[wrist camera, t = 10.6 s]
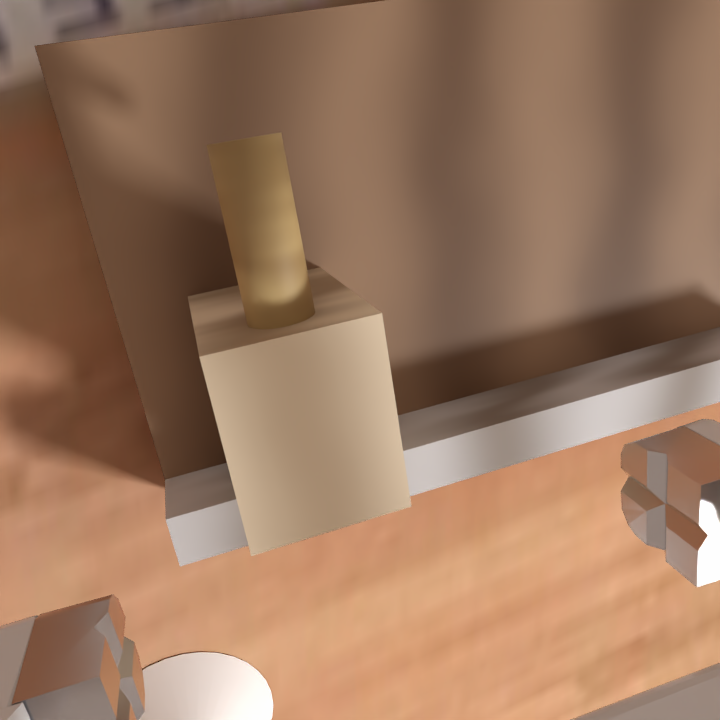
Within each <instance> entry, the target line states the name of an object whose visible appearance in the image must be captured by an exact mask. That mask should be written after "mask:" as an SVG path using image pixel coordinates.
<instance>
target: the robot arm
mask: <svg viewBox="0 0 720 720" xmlns="http://www.w3.org/2000/svg"><path fill="white" fill-rule="evenodd" d="M621 468H622V470H623V471H624V472H625V473H626V474H627V475H628V476H629V477H628V479H627V481H626V483H625V485H624V486H623V488H622V490H621V502H622V510H623V513H624V515H625V518H626V521H627V523H628V525H629V527H630V528H631V529H632V531H633V532H634V534H635V535H636V536H637V537H638V538H639V539H641V540H642V541H643V542H644V543H645V544H646V545H649V546H652V547H656V548H659V549H662V550H665V558H666V562H667V563H669V564H670V565H671V566H672V567H673V568H674V569H676V570H677V571H678V572H679V573H680V574H682V575H683V576H684V577H685V578H686V579H688V580H689V581H690V582H691V583H692V584H693V585H695V586H696V587H699V586H702V585H705V584H708V583H712V582H715V581H718V580H720V423H719V422H717V421H715V420H709V419H701V420H698V421H695V422H692V423H689V424H686V425H683V426H680V427H678V428H677V429H673V430H670V431H667V432H664V433H660V434H657V435H654V436H651V437H648V438H644V439H641V440H638V441H635V442H631V443H628V444H625V445H624V447H623V450H622V453H621ZM124 629H125V615H124V613H123V610H122V607H121V605H120V602H119V600H118V598H117V597H116V596H115V595H109V596H105V597H102V598H98V599H94V600H91V601H87V602H83V603H80V604H76V605H72V606H69V607H65V608H61V609H58V610H54V611H50V612H47V613H43V614H40V615H39V616H32V617H29V618H25V619H22V620H19V621H15V622H12V623H9V624H5V625H2V626H1V627H0V720H139V719H140V717H141V716H142V715H143V713H144V712H145V689H144V679H143V671H142V667H141V663H140V659H139V655H138V652H137V649H136V646H135V643H134V642H133V641H131V640H130V639H128V638H126V637H124ZM571 720H720V663H717V664H714V665H712V666H709V667H707V668H704V669H701V670H699V671H696V672H693V673H691V674H688V675H686V676H683V677H680V678H678V679H675V680H672V681H670V682H667V683H665V684H662V685H659V686H657V687H654V688H651V689H649V690H646V691H644V692H641V693H638V694H636V695H633V696H631V697H628V698H625V699H623V700H620V701H618V702H615V703H612V704H610V705H607V706H605V707H602V708H599V709H597V710H594V711H592V712H589V713H586V714H584V715H581V716H579V717H576V718H573V719H571Z"/></svg>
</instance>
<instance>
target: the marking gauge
mask: <svg viewBox="0 0 720 720" xmlns="http://www.w3.org/2000/svg"><path fill="white" fill-rule="evenodd" d="M206 146H207V150H208V155H209V159H210V163H211V168H212V172H213V176H214V181H215V185H216V189H217V194H218V198H219V203H220V207H221V211H222V216H223V220H224V224H225V229H226V233H227V237H228V242H229V246H230V251H231V255H232V259H233V264H234V268H235V272H236V277H237V281H238V285H237V286H233V287H228V288H223V289H219V290H214V291H210V292H205V293H201V294H196V295H192V296H188V301H189V306H190V311H191V316H192V322H193V327H194V332H195V337H196V342H197V347H198V353H199V358H200V361H201V365H202V369H203V373H204V377H205V381H206V384H207V388H208V392H209V396H210V400H211V404H212V407H213V411H214V415H215V419H216V423H217V426H218V430H219V434H220V438H221V442H222V446H223V449H224V453H225V457H226V461H227V465H228V469H229V472H230V476H231V480H232V484H233V488H234V492H235V495H236V499H237V503H238V507H239V511H240V515H241V518H242V522H243V526H244V530H245V534H246V538H247V541H248V545H249V549H250V553H251V556H253V555H257V554H260V553H263V552H266V551H270V550H273V549H276V548H279V547H282V546H286V545H289V544H292V543H295V542H299V541H302V540H305V539H308V538H312V537H315V536H318V535H321V534H324V533H328V532H331V531H334V530H337V529H341V528H344V527H347V526H350V525H353V524H357V523H360V522H363V521H366V520H370V519H373V518H376V517H379V516H383V515H386V514H389V513H392V512H395V511H399V510H402V509H405V508H408V507H412V506H411V500H410V493H409V487H408V480H407V474H406V467H405V460H404V454H403V447H402V441H401V434H400V428H399V421H398V414H397V408H396V401H395V395H394V388H393V382H392V375H391V368H390V362H389V355H388V349H387V342H386V336H385V329H384V322H383V316H382V313H381V312H380V311H379V310H377V309H376V308H375V307H373V306H372V305H370V304H369V303H368V302H366V301H365V300H364V299H362V298H361V297H360V296H358V295H357V294H356V293H354V292H353V291H352V290H350V289H349V288H348V287H346V286H345V285H343V284H342V283H341V282H339V281H338V280H337V279H335V278H334V277H333V276H331V275H330V274H329V273H327V272H326V271H325V270H323V269H322V268H321V267H319V268H315V269H310V270H307V266H306V260H305V255H304V250H303V244H302V239H301V234H300V229H299V223H298V218H297V213H296V208H295V202H294V197H293V192H292V186H291V181H290V176H289V171H288V165H287V160H286V155H285V150H284V144H283V139H282V134H281V132H280V133H274V134H268V135H262V136H256V137H250V138H244V139H238V140H232V141H226V142H221V143H215V144H210V145H206Z"/></svg>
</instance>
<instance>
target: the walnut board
mask: <svg viewBox="0 0 720 720" xmlns="http://www.w3.org/2000/svg"><path fill="white" fill-rule="evenodd" d="M35 49H36V52H37V56H38V59H39V62H40V65H41V69H42V72H43V75H44V79H45V82H46V85H47V89H48V92H49V95H50V99H51V102H52V105H53V109H54V112H55V115H56V119H57V122H58V125H59V129H60V132H61V135H62V139H63V142H64V145H65V149H66V152H67V155H68V159H69V162H70V165H71V169H72V172H73V175H74V179H75V182H76V185H77V189H78V192H79V195H80V199H81V202H82V205H83V209H84V212H85V215H86V219H87V222H88V225H89V228H90V232H91V235H92V238H93V242H94V245H95V248H96V252H97V255H98V258H99V262H100V265H101V268H102V272H103V275H104V278H105V282H106V285H107V288H108V292H109V295H110V298H111V302H112V305H113V308H114V312H115V315H116V318H117V322H118V325H119V328H120V332H121V335H122V338H123V342H124V345H125V348H126V352H127V355H128V358H129V362H130V365H131V368H132V372H133V375H134V378H135V382H136V385H137V388H138V391H139V395H140V398H141V401H142V405H143V408H144V411H145V415H146V418H147V421H148V425H149V428H150V431H151V435H152V438H153V441H154V445H155V448H156V451H157V455H158V458H159V461H160V465H161V468H162V471H163V475H164V478H165V507H166V522H167V525H168V529H169V532H170V535H171V538H172V542H173V545H174V548H175V551H176V555H177V558H178V561H179V564H180V566H183V565H186V564H190V563H193V562H196V561H199V560H203V559H206V558H209V557H213V556H216V555H219V554H222V553H226V552H229V551H232V550H236V549H239V548H242V547H245V546H249V545H248V541H247V538H246V534H245V530H244V526H243V522H242V518H241V515H240V511H239V507H238V503H237V499H236V495H235V492H234V488H233V484H232V480H231V476H230V472H229V469H228V465H227V461H226V457H225V453H224V449H223V446H222V442H221V438H220V434H219V430H218V426H217V423H216V419H215V415H214V411H213V407H212V404H211V400H210V396H209V392H208V388H207V384H206V381H205V377H204V373H203V369H202V365H201V361H200V358H199V353H198V347H197V342H196V337H195V332H194V327H193V322H192V316H191V311H190V306H189V301H188V296H192V295H196V294H201V293H205V292H210V291H214V290H219V289H223V288H228V287H233V286H237V285H238V281H237V277H236V272H235V268H234V264H233V259H232V255H231V251H230V246H229V242H228V237H227V233H226V229H225V224H224V220H223V216H222V211H221V207H220V203H219V198H218V194H217V189H216V185H215V181H214V176H213V172H212V168H211V163H210V159H209V155H208V150H207V146H206V145H210V144H215V143H221V142H226V141H232V140H238V139H244V138H250V137H256V136H262V135H268V134H274V133H280V132H281V134H282V139H283V144H284V150H285V155H286V160H287V165H288V171H289V176H290V181H291V186H292V192H293V197H294V202H295V208H296V213H297V218H298V223H299V229H300V234H301V239H302V244H303V250H304V255H305V260H306V266H307V270H310V269H315V268H319V267H321V268H322V269H323V270H325V271H326V272H327V273H329V274H330V275H331V276H333V277H334V278H335V279H337V280H338V281H339V282H341V283H342V284H343V285H345V286H346V287H348V288H349V289H350V290H352V291H353V292H354V293H356V294H357V295H358V296H360V297H361V298H362V299H364V300H365V301H366V302H368V303H369V304H370V305H372V306H373V307H375V308H376V309H377V310H379V311H380V312H381V313H382V316H383V322H384V329H385V336H386V342H387V349H388V355H389V362H390V368H391V375H392V382H393V388H394V395H395V401H396V408H397V414H398V421H399V428H400V434H401V441H402V447H403V454H404V460H405V467H406V474H407V480H408V487H409V493H410V496H413V495H416V494H419V493H423V492H426V491H429V490H432V489H436V488H439V487H442V486H446V485H449V484H452V483H455V482H459V481H462V480H465V479H468V478H472V477H475V476H478V475H482V474H485V473H488V472H491V471H495V470H498V469H501V468H505V467H508V466H511V465H514V464H518V463H521V462H524V461H528V460H531V459H534V458H537V457H541V456H544V455H547V454H550V453H554V452H557V451H560V450H564V449H567V448H570V447H573V446H577V445H580V444H583V443H587V442H590V441H593V440H596V439H600V438H603V437H606V436H610V435H613V434H616V433H619V432H623V431H626V430H629V429H633V428H636V427H639V426H642V425H646V424H649V423H652V422H655V421H659V420H662V419H665V418H669V417H672V416H675V415H678V414H682V413H685V412H688V411H692V410H695V409H698V408H701V407H705V406H708V405H711V404H715V403H718V402H720V0H385V1H377V2H369V3H361V4H354V5H346V6H338V7H330V8H323V9H315V10H307V11H300V12H292V13H284V14H276V15H269V16H261V17H253V18H245V19H238V20H230V21H222V22H215V23H207V24H199V25H191V26H184V27H176V28H168V29H160V30H153V31H145V32H137V33H129V34H122V35H114V36H106V37H99V38H91V39H83V40H75V41H68V42H60V43H52V44H44V45H37V46H35Z"/></svg>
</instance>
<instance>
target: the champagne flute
mask: <svg viewBox="0 0 720 720" xmlns="http://www.w3.org/2000/svg"><path fill="white" fill-rule="evenodd" d="M142 671H143V679H144V689H145V712H144V713H143V715H142V716H141V717H140V719H139V720H271V719H272V714H273V700H272V694H271V690H270V688H269V686H268V684H267V682H266V680H265V679H264V677H263V676H262V675H261V674H260V673H259V671H258V670H256V669H255V668H254V667H252V666H251V665H250V664H248V663H247V662H245V661H243V660H240V659H238V658H236V657H233V656H229V655H225V654H220V653H210V652H197V653H189V654H182V655H178V656H174V657H171V658H167V659H164V660H162V661H160V662H157V663H155V664H153V665H151V666H148V667H147V668H145V669H144V670H142Z"/></svg>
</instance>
